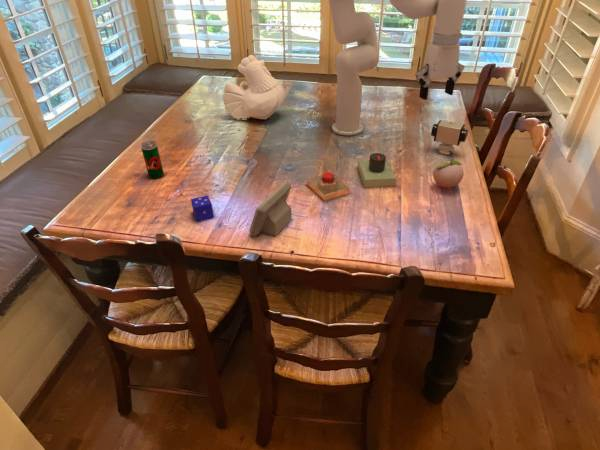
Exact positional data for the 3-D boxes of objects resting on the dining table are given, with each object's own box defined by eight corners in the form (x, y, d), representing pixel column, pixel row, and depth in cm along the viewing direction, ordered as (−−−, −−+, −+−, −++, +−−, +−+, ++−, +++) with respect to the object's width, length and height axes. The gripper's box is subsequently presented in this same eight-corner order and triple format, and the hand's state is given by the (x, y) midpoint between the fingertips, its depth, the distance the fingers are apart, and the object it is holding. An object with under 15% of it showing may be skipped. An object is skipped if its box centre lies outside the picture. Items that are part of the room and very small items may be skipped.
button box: (307, 185, 142) (307, 174, 140) (330, 178, 145) (331, 167, 143) (324, 201, 134) (324, 190, 132) (348, 193, 138) (349, 182, 135)
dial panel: (357, 167, 151) (358, 159, 149) (386, 166, 151) (387, 158, 149) (364, 187, 140) (365, 179, 138) (395, 186, 141) (396, 177, 139)
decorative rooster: (295, 98, 187) (261, 47, 181) (286, 105, 173) (248, 50, 167) (252, 129, 197) (219, 82, 192) (240, 138, 184) (203, 87, 178)
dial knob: (367, 165, 146) (368, 152, 143) (382, 164, 146) (384, 151, 143) (370, 173, 142) (371, 160, 139) (386, 172, 142) (387, 159, 139)
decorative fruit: (443, 198, 135) (449, 169, 129) (426, 185, 141) (431, 158, 135) (466, 190, 138) (473, 162, 132) (448, 178, 144) (454, 151, 138)
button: (320, 178, 138) (320, 173, 137) (329, 175, 140) (330, 171, 139) (326, 183, 136) (326, 178, 135) (335, 180, 137) (336, 176, 136)
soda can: (166, 173, 150) (159, 141, 143) (158, 180, 146) (150, 148, 139) (154, 171, 151) (146, 139, 144) (145, 178, 148) (137, 146, 140)
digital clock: (279, 206, 132) (278, 176, 126) (302, 217, 128) (302, 186, 121) (241, 231, 123) (237, 200, 116) (264, 244, 118) (261, 212, 111)
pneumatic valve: (460, 158, 155) (467, 127, 148) (427, 151, 159) (433, 121, 152) (463, 152, 159) (470, 121, 151) (431, 145, 163) (437, 115, 156)
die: (197, 221, 127) (194, 207, 124) (193, 212, 131) (190, 198, 128) (214, 217, 128) (211, 203, 125) (209, 208, 132) (207, 195, 129)
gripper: (461, 32, 132) (450, 88, 143) (413, 39, 127) (405, 96, 137) (478, 38, 127) (465, 95, 137) (428, 45, 122) (419, 104, 132)
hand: (435, 96), depth 137 cm, fingers open, 9 cm apart
